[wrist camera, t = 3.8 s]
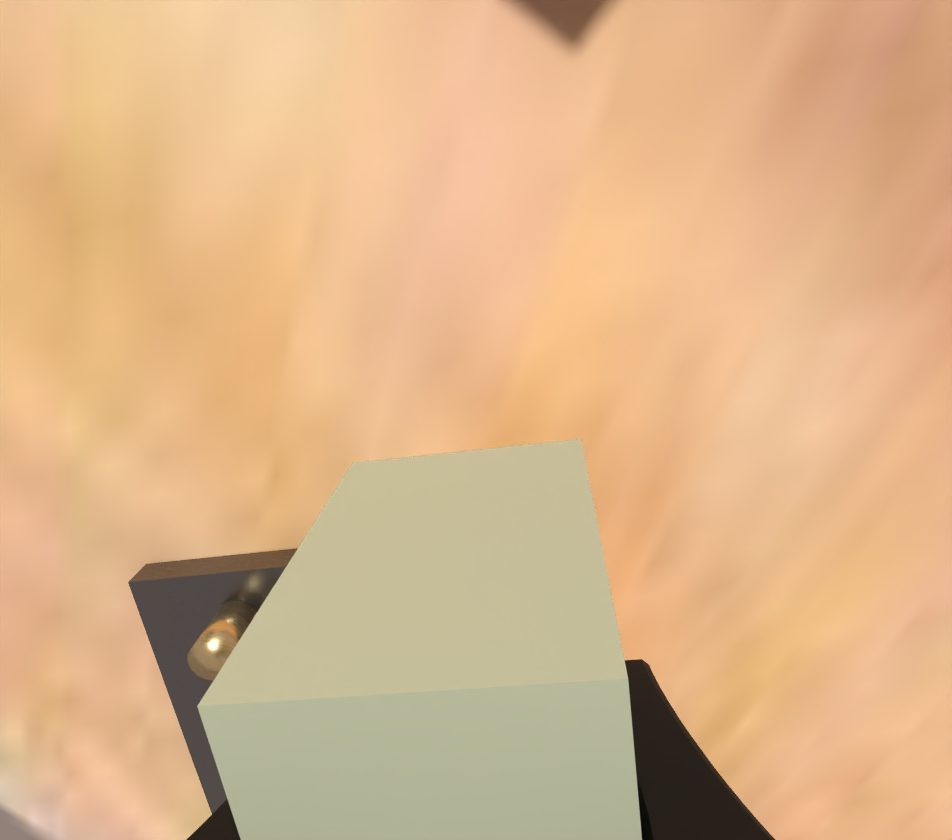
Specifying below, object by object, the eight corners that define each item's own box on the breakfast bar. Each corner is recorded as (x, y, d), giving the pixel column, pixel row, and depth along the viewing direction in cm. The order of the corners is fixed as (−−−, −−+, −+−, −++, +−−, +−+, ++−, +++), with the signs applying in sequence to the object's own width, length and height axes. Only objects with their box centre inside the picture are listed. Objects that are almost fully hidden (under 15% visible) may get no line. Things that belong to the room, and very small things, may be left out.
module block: (581, 438, 12) (628, 678, 6) (616, 802, 14) (673, 1213, 9) (352, 462, 12) (197, 706, 6) (425, 810, 15) (359, 1206, 9)
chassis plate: (585, 859, 24) (593, 951, 21) (254, 874, 25) (219, 963, 22) (538, 523, 20) (540, 581, 17) (146, 564, 21) (86, 624, 18)
